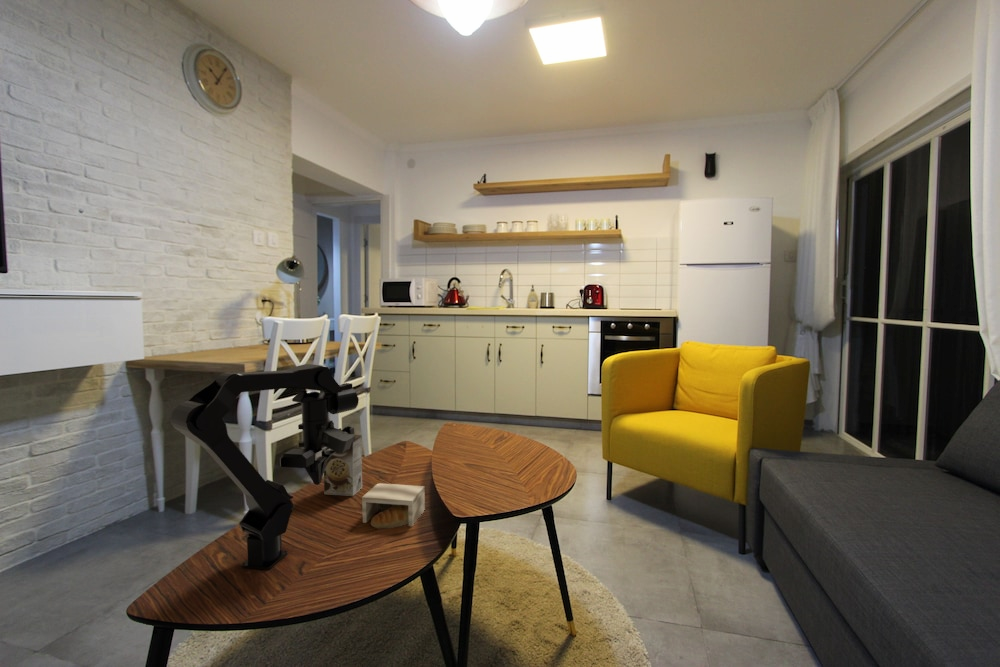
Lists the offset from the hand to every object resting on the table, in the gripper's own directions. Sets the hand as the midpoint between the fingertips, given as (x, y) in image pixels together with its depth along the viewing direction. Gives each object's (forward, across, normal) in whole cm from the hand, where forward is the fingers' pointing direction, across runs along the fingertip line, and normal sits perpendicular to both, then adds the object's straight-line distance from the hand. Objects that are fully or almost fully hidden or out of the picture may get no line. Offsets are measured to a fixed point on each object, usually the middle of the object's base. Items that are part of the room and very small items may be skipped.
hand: (317, 484), depth 105 cm
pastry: (+12, +8, -15) cm, 21 cm away
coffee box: (+12, +24, +7) cm, 28 cm away
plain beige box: (+12, +11, -14) cm, 22 cm away
